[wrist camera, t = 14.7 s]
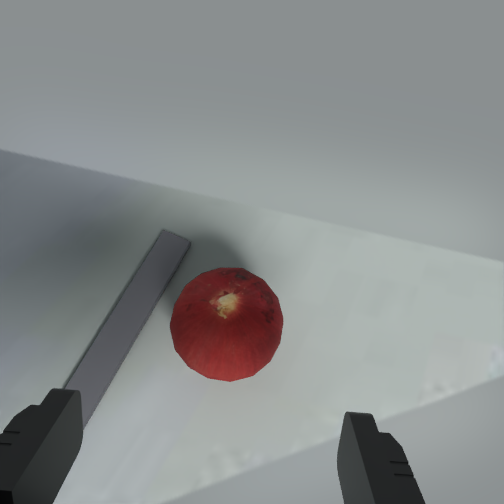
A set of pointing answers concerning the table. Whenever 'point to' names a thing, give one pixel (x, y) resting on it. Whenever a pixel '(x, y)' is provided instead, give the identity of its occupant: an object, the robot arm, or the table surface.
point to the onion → (226, 324)
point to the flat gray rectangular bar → (126, 322)
